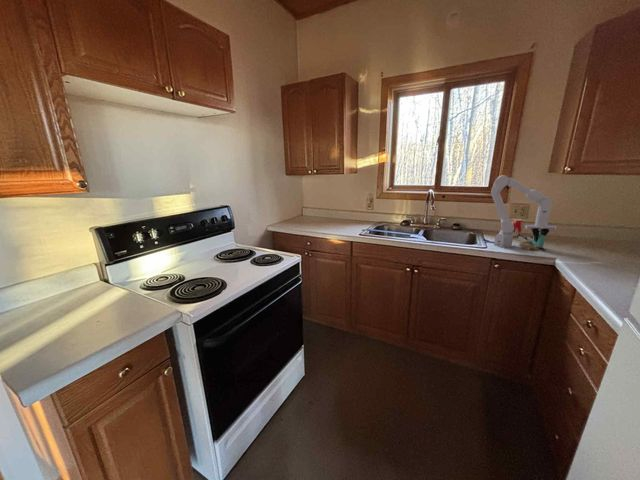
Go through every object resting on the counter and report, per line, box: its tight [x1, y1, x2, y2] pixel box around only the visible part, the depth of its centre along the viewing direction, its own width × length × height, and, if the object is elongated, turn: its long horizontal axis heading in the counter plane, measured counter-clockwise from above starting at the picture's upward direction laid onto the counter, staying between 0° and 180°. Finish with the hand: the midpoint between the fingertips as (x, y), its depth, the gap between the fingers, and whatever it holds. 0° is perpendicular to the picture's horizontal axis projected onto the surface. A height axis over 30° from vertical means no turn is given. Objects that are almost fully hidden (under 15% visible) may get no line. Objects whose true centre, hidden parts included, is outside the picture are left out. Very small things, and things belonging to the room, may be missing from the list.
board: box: [532, 232, 546, 248], centre depth 160 cm, size 2×9×7 cm, turn 164°
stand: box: [517, 236, 535, 246], centre depth 174 cm, size 6×12×3 cm, turn 164°
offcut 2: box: [522, 243, 531, 251], centre depth 161 cm, size 2×4×3 cm, turn 164°
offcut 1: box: [519, 240, 527, 249], centre depth 165 cm, size 2×4×4 cm, turn 164°
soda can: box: [510, 218, 524, 238], centre depth 192 cm, size 7×7×12 cm
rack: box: [519, 244, 547, 252], centre depth 162 cm, size 10×10×2 cm
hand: (538, 241), depth 161 cm, fingers closed on board, 2 cm apart
